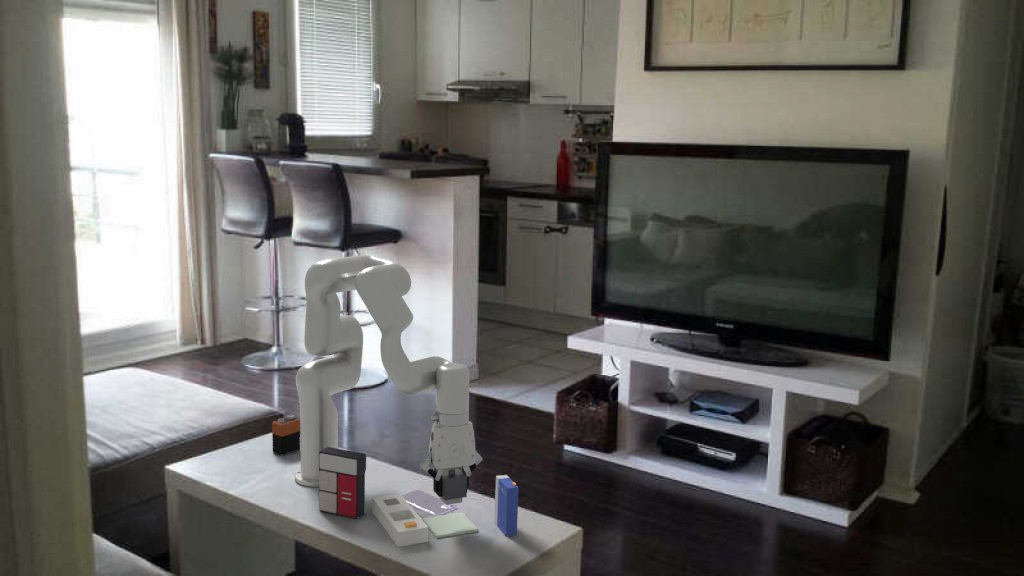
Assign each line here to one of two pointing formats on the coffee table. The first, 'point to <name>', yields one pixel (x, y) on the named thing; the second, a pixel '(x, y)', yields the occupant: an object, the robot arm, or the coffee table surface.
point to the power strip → (400, 520)
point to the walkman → (506, 505)
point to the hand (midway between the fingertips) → (451, 492)
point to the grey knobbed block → (453, 486)
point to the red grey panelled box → (342, 482)
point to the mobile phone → (428, 503)
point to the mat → (449, 525)
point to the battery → (286, 435)
